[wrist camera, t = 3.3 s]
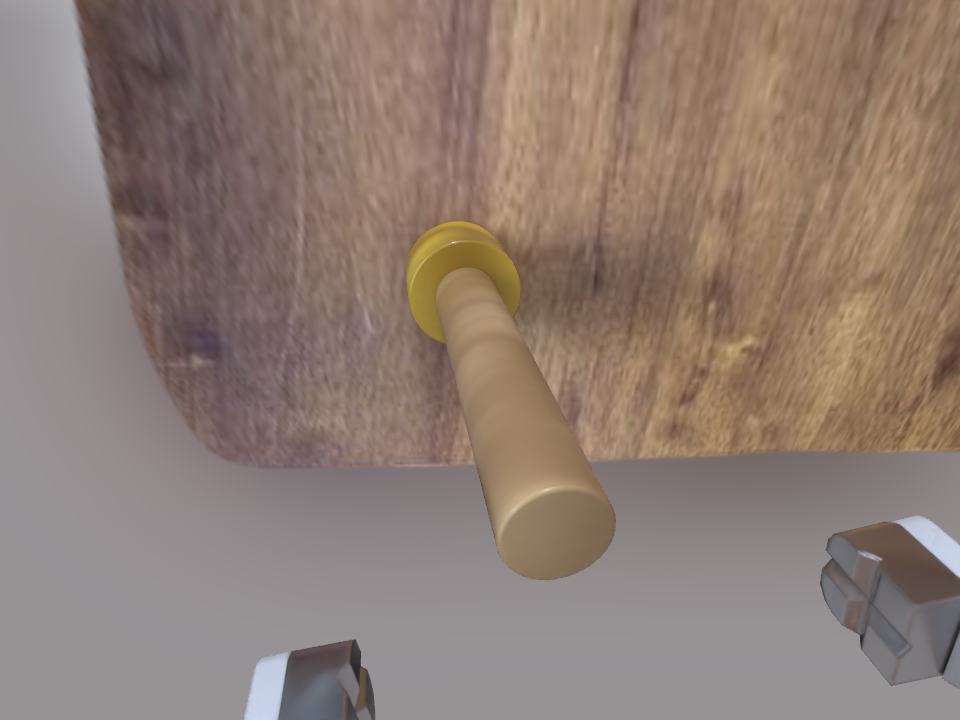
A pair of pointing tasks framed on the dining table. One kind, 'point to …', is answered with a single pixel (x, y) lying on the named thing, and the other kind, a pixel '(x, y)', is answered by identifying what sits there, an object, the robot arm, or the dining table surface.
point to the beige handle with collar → (508, 406)
